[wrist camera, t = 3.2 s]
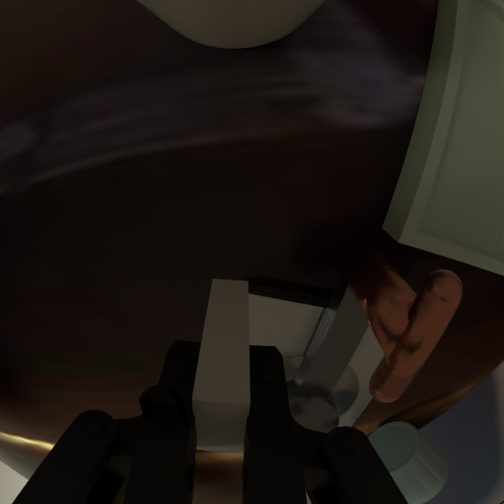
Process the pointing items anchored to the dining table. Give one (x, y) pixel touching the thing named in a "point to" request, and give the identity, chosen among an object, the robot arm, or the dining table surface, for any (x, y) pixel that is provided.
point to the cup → (410, 460)
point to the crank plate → (300, 337)
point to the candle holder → (233, 19)
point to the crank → (383, 326)
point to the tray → (458, 143)
